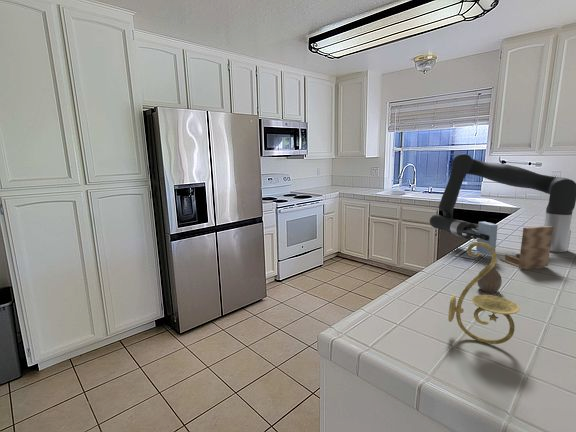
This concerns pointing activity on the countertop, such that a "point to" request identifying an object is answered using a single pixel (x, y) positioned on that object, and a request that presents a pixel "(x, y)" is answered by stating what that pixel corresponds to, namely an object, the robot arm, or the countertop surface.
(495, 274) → the vase
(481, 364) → the countertop surface
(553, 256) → the countertop surface
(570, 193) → the robot arm
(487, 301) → the wall sconce
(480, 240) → the light blue rectangular block
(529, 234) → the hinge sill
